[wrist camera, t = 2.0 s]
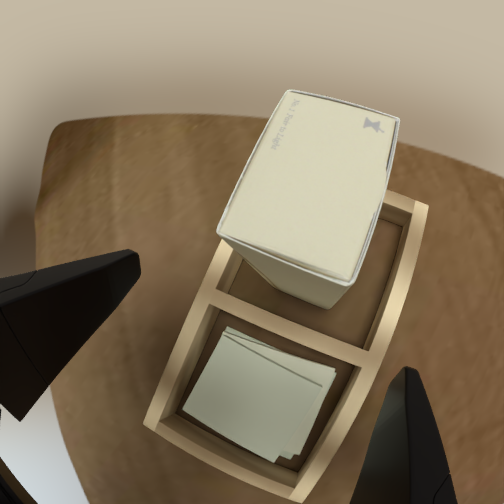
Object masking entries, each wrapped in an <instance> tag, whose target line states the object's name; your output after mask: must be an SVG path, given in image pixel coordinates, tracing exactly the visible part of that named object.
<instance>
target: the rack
mask: <svg viewBox="0 0 504 504" xmlns="http://www.w3.org/2000/svg"><path fill="white" fill-rule="evenodd" d="M428 207H429V206H428V205H426V204H423V203H421V202H418V201H416V200H413V199H411V198H408V197H406V196H403V195H400V194H398V193H395V192H392V191H390V190H387V189H386V193H385V197H384V200H383V204H382V207H381V210H380V213H379V217H378V218H381V219H384V220H386V221H389V222H392V223H394V224H397V225H399V226H402V227H403V230H402V233H401V237H400V241H399V245H398V248H397V252H396V255H395V259H394V262H393V265H392V269H391V272H390V275H389V278H388V281H387V284H386V287H385V290H384V293H383V296H382V299H381V302H380V305H379V308H378V310H377V313H376V316H375V319H374V321H373V324H372V326H371V329H370V332H369V334H368V337H367V339H366V342H365V344H364V347H363V349H361V348H358V347H355V346H353V345H350V344H347V343H345V342H342V341H339V340H337V339H334V338H332V337H329V336H326V335H324V334H321V333H319V332H316V331H314V330H311V329H309V328H306V327H304V326H301V325H299V324H296V323H294V322H292V321H289V320H287V319H284V318H282V317H279V316H277V315H275V314H272V313H270V312H268V311H265V310H263V309H260V308H258V307H256V306H253V305H251V304H249V303H247V302H244V301H242V300H240V299H237V298H235V297H233V296H231V295H228V292H229V289H230V287H231V285H232V283H233V280H234V278H235V276H236V274H237V271H238V269H239V267H240V265H241V262H242V260H243V258H242V257H241V256H240V255H239V254H238V253H237V252H236V251H235V250H234V249H233V248H231V247H230V246H229V245H228V244H227V243H226V242H225V241H224V240H223V239H222V240H221V242H220V244H219V247H218V249H217V251H216V253H215V255H214V257H213V260H212V262H211V264H210V266H209V268H208V271H207V273H206V275H205V277H204V279H203V282H202V284H201V286H200V288H199V291H198V293H197V295H196V297H195V300H194V302H193V304H192V307H191V309H190V311H189V313H188V316H187V318H186V320H185V323H184V325H183V327H182V330H181V332H180V334H179V337H178V339H177V341H176V344H175V346H174V348H173V351H172V353H171V355H170V358H169V360H168V363H167V365H166V367H165V370H164V372H163V375H162V377H161V380H160V382H159V384H158V387H157V389H156V392H155V394H154V397H153V399H152V402H151V404H150V407H149V409H148V412H147V414H146V417H145V419H144V422H143V424H144V425H145V426H147V427H148V428H150V429H151V430H153V431H154V432H156V433H157V434H159V435H160V436H162V437H163V438H165V439H166V440H168V441H169V442H171V443H173V444H174V445H176V446H178V447H179V448H181V449H183V450H184V451H186V452H188V453H189V454H191V455H193V456H195V457H197V458H198V459H200V460H202V461H204V462H206V463H208V464H209V465H211V466H213V467H215V468H217V469H219V470H221V471H223V472H225V473H227V474H229V475H231V476H234V477H236V478H238V479H240V480H242V481H244V482H247V483H249V484H251V485H254V486H256V487H258V488H261V489H263V490H266V491H268V492H271V493H273V494H276V495H279V496H282V497H284V498H287V499H290V500H293V501H296V502H299V503H302V502H303V501H304V500H305V498H306V497H307V496H308V494H309V493H310V491H311V490H312V489H313V487H314V486H315V484H316V483H317V481H318V480H319V478H320V477H321V475H322V474H323V472H324V471H325V469H326V468H327V466H328V464H329V463H330V461H331V460H332V458H333V456H334V455H335V453H336V451H337V450H338V448H339V446H340V445H341V443H342V441H343V440H344V438H345V436H346V434H347V432H348V431H349V429H350V427H351V425H352V423H353V421H354V420H355V418H356V416H357V414H358V412H359V410H360V408H361V406H362V404H363V402H364V400H365V398H366V396H367V394H368V392H369V389H370V387H371V385H372V383H373V381H374V379H375V376H376V374H377V372H378V370H379V367H380V365H381V363H382V360H383V358H384V355H385V353H386V351H387V348H388V346H389V343H390V340H391V338H392V335H393V333H394V330H395V327H396V324H397V322H398V319H399V316H400V313H401V310H402V307H403V304H404V301H405V298H406V295H407V292H408V288H409V285H410V282H411V278H412V275H413V271H414V268H415V264H416V260H417V256H418V252H419V248H420V244H421V240H422V236H423V231H424V227H425V222H426V217H427V212H428ZM221 309H222V310H224V311H226V312H228V313H231V314H233V315H235V316H237V317H239V318H242V319H244V320H246V321H248V322H251V323H253V324H255V325H257V326H260V327H262V328H264V329H266V330H269V331H271V332H273V333H276V334H278V335H280V336H283V337H285V338H288V339H290V340H292V341H295V342H297V343H300V344H302V345H305V346H307V347H310V348H312V349H315V350H317V351H320V352H322V353H325V354H327V355H330V356H332V357H335V358H338V359H340V360H343V361H346V362H348V363H351V364H354V365H355V367H354V370H353V372H352V374H351V376H350V378H349V381H348V383H347V385H346V387H345V389H344V391H343V393H342V395H341V397H340V399H339V401H338V403H337V405H336V407H335V409H334V411H333V413H332V415H331V417H330V419H329V421H328V423H327V424H326V426H325V428H324V430H323V432H322V433H321V435H320V437H319V439H318V441H317V442H316V444H315V446H314V447H313V449H312V451H311V452H310V454H309V456H308V457H307V459H306V461H305V462H304V464H303V466H302V467H301V469H300V470H299V472H295V471H292V470H290V469H287V468H284V467H282V466H279V465H277V464H274V463H272V462H269V461H267V460H265V459H262V458H260V457H258V456H255V455H253V454H251V453H249V452H246V451H244V450H242V449H240V448H238V447H236V446H234V445H232V444H230V443H228V442H226V441H224V440H222V439H220V438H218V437H216V436H214V435H212V434H210V433H208V432H207V431H205V430H203V429H201V428H199V427H197V426H196V425H194V424H192V423H190V422H189V421H187V420H185V419H184V418H182V417H180V416H179V415H177V414H175V412H176V410H177V408H178V405H179V403H180V401H181V398H182V396H183V394H184V392H185V389H186V387H187V385H188V382H189V380H190V378H191V376H192V373H193V371H194V369H195V366H196V364H197V362H198V360H199V357H200V355H201V353H202V350H203V348H204V346H205V344H206V341H207V339H208V337H209V335H210V332H211V330H212V328H213V325H214V323H215V321H216V319H217V316H218V314H219V312H220V310H221Z"/></svg>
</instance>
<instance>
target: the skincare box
mask: <svg viewBox="0 0 504 504" xmlns="http://www.w3.org/2000/svg"><path fill="white" fill-rule="evenodd" d="M399 126H400V119H399V118H398V117H395V116H392V115H389V114H385V113H383V112H380V111H377V110H374V109H371V108H367V107H365V106H361V105H357V104H354V103H350V102H346V101H343V100H339V99H335V98H332V97H327V96H323V95H317V94H313V93H308V92H303V91H298V90H292V89H290V90H287V91H286V92H285V94H284V95H283V97H282V99H281V100H280V102H279V104H278V105H277V107H276V108H275V110H274V112H273V114H272V116H271V117H270V119H269V121H268V123H267V125H266V127H265V129H264V130H263V132H262V134H261V136H260V138H259V140H258V142H257V143H256V145H255V148H254V150H253V152H252V154H251V156H250V158H249V159H248V161H247V164H246V166H245V168H244V170H243V172H242V174H241V176H240V178H239V180H238V182H237V184H236V187H235V189H234V191H233V193H232V195H231V197H230V200H229V202H228V204H227V206H226V208H225V210H224V213H223V215H222V217H221V220H220V222H219V224H218V227H217V230H216V232H217V234H218V235H219V236H220V237H221V238H222V239H223V240H224V241H225V242H226V243H227V244H228V245H229V246H230V247H231V248H233V249H234V250H235V251H236V252H237V253H238V254H239V255H240V256H241V257H242V258H243V259H244V260H245V261H246V262H247V263H248V264H249V265H250V266H252V267H253V268H254V269H255V270H256V271H257V272H258V273H259V274H260V275H261V276H262V277H263V278H264V279H265V280H266V281H267V282H269V283H270V285H272V286H273V287H274V288H276V289H278V290H280V291H282V292H285V293H287V294H289V295H291V296H294V297H296V298H299V299H301V300H303V301H306V302H308V303H311V304H313V305H316V306H318V307H321V308H323V309H326V310H329V309H331V307H332V306H333V305H334V304H335V303H336V302H337V301H338V300H339V299H340V298H341V297H342V296H343V295H344V294H345V293H346V291H347V290H348V289H349V288H350V287H351V286H352V285H353V284H354V283H355V281H356V279H357V276H358V273H359V271H360V268H361V266H362V263H363V260H364V258H365V255H366V252H367V250H368V247H369V244H370V241H371V238H372V235H373V232H374V229H375V226H376V223H377V220H378V217H379V213H380V210H381V207H382V204H383V200H384V197H385V193H386V189H387V184H388V180H389V176H390V172H391V168H392V163H393V158H394V153H395V148H396V143H397V137H398V130H399Z"/></svg>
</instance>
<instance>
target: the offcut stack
mask: <svg viewBox="0 0 504 504" xmlns="http://www.w3.org/2000/svg"><path fill="white" fill-rule="evenodd" d="M334 371H335V367H331V366H328V365H325V364H321V363H318V362H315V361H311V360H308V359H305V358H302V357H299V356H295V355H292V354H289V353H286V352H284V351H282V350H279V349H277V348H275V347H273V346H270V345H268V344H266V343H264V342H261V341H259V340H257V339H255V338H252V337H250V336H248V335H246V334H244V333H242V332H239V331H237V330H235V329H233V328H231V327H229V326H227V328H226V330H225V331H223V333H222V336H221V338H220V340H219V342H218V344H217V346H216V348H215V350H214V351H213V353H212V355H211V357H210V359H209V361H208V363H207V364H206V366H205V368H204V370H203V372H202V374H201V376H200V377H199V379H198V381H197V383H196V385H195V387H194V388H193V390H192V392H191V394H190V396H189V398H188V399H187V401H186V403H185V405H184V407H183V409H182V410H184V411H185V412H187V413H188V414H190V415H191V416H193V417H194V418H196V419H197V420H199V421H201V422H202V423H204V424H205V425H207V426H208V427H210V428H212V429H213V430H215V431H217V432H218V433H220V434H222V435H223V436H225V437H227V438H228V439H230V440H232V441H234V442H235V443H237V444H239V445H241V446H242V447H244V448H246V449H248V450H250V451H252V452H254V453H256V454H257V455H259V456H261V457H263V458H265V459H267V460H269V461H271V462H273V463H274V462H275V460H276V459H277V458H278V456H279V455H280V456H282V457H285V458H287V459H290V460H291V458H292V456H293V455H294V454H297V455H300V453H301V450H302V448H303V446H304V444H305V442H306V440H307V437H308V435H309V433H310V431H311V429H312V426H313V424H314V422H315V419H316V417H317V415H318V412H319V410H320V407H321V405H322V402H323V400H324V398H325V396H326V394H327V392H328V390H329V388H330V386H331V384H332V382H333V380H334V378H335V376H336V374H337V373H336V372H334Z"/></svg>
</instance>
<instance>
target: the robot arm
mask: <svg viewBox="0 0 504 504" xmlns="http://www.w3.org/2000/svg"><path fill="white" fill-rule="evenodd" d="M140 275H141V267H140V259H139V255H138V253H136V252H134V251H132V250H130V249H126V250H121V251H117V252H112V253H108V254H103V255H99V256H95V257H90V258H86V259H82V260H77V261H73V262H69V263H65V264H60V265H56V266H52V267H48V268H44V269H40V270H38V271H37V270H36V271H32V272H28V273H24V274H19V275H14V276H9V277H5V278H0V404H2V405H3V407H5V408H6V409H7V410H8V411H9V412H10V413H11V414H12V415H13V416H14V417H15V418H16V419H17V420H18V421H19V422H20V421H21V420H22V419H23V418H24V417H25V415H26V414H27V413H28V412H29V410H30V409H31V408H32V407H33V405H34V404H35V403H36V401H37V400H38V399H39V398H40V396H41V395H42V394H43V393H44V391H45V390H46V389H47V387H48V385H50V384H51V383H52V381H53V380H54V379H55V378H56V376H57V375H58V374H59V373H60V372H61V370H62V369H63V368H64V367H65V366H66V364H67V363H68V362H69V361H70V360H71V359H72V357H73V356H74V355H75V354H76V353H77V352H78V350H79V349H80V348H81V347H82V346H83V345H84V344H85V342H86V341H87V340H88V339H89V338H90V337H91V336H92V335H93V333H94V332H95V331H96V330H97V329H98V328H99V327H100V326H101V325H102V323H103V322H104V321H105V320H106V319H107V318H108V317H109V316H110V315H111V314H112V312H113V311H114V310H115V309H116V308H117V306H118V305H119V304H120V303H121V301H122V300H123V299H124V297H125V296H126V295H127V293H128V292H129V291H130V289H131V288H132V287H133V286H134V284H135V283H136V282H137V280H138V279H139V277H140ZM0 418H1V409H0ZM449 473H450V470H449V466H448V462H447V458H446V455H445V451H444V447H443V444H442V440H441V437H440V434H439V430H438V427H437V424H436V421H435V418H434V415H433V412H432V409H431V406H430V403H429V400H428V397H427V394H426V391H425V389H424V386H423V383H422V380H421V378H420V375H419V372H418V371H417V370H416V369H414V368H411V367H408V366H405V367H403V368H402V369H401V371H400V372H399V373H398V374H397V375H396V377H395V378H394V379H393V380H392V381H391V383H390V385H389V387H388V390H387V393H386V396H385V399H384V402H383V405H382V408H381V411H380V414H379V416H378V419H377V422H376V424H375V427H374V430H373V433H372V436H371V440H370V443H369V447H368V450H367V454H366V457H365V460H364V464H363V467H362V470H361V473H360V476H359V479H358V482H357V485H356V487H355V490H354V493H353V496H352V498H351V501H350V504H458V503H457V499H456V495H455V491H454V487H453V483H452V478H451V475H450V474H449ZM0 504H38V503H37V502H36V501H35V500H34V499H33V498H32V497H31V496H30V494H29V493H28V492H27V491H26V490H25V488H24V487H23V486H22V485H21V484H20V482H19V481H18V480H17V479H16V478H15V476H14V475H13V474H12V472H11V471H10V470H9V468H8V467H7V466H6V464H5V463H4V462H3V460H2V459H1V457H0Z"/></svg>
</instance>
